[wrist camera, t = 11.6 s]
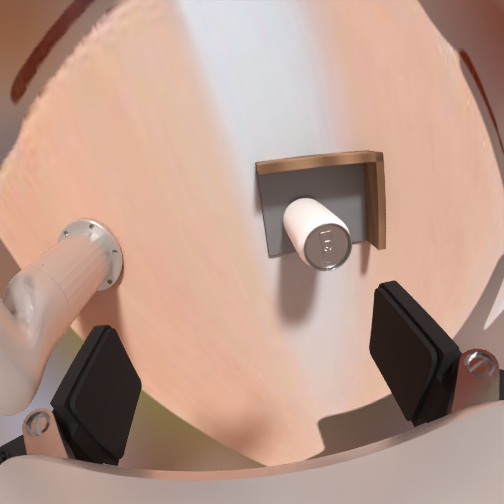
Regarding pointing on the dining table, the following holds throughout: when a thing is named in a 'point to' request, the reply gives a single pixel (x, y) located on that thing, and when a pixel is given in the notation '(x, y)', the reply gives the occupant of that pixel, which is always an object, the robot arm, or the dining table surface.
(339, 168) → the mat
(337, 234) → the can
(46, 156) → the dining table surface
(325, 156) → the corner walls
